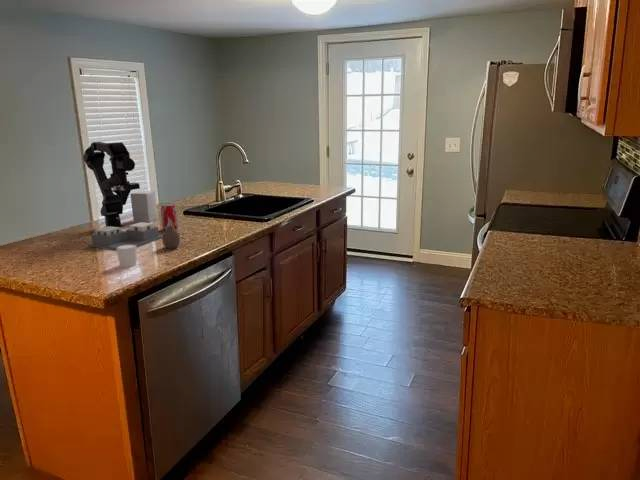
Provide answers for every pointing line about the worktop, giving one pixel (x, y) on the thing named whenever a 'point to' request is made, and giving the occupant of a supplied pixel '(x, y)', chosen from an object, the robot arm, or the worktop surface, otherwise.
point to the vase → (171, 238)
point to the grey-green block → (108, 230)
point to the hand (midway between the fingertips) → (123, 204)
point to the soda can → (169, 215)
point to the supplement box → (144, 206)
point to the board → (125, 238)
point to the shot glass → (127, 255)
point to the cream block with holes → (141, 226)
